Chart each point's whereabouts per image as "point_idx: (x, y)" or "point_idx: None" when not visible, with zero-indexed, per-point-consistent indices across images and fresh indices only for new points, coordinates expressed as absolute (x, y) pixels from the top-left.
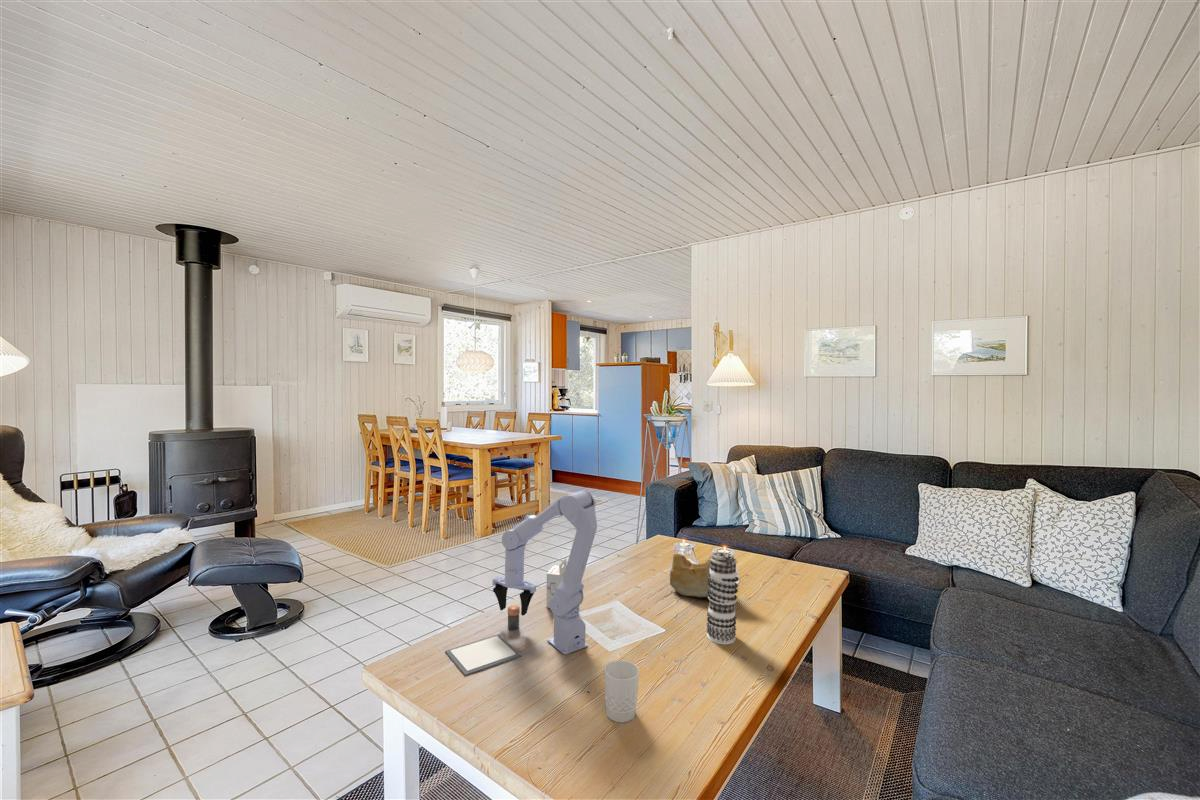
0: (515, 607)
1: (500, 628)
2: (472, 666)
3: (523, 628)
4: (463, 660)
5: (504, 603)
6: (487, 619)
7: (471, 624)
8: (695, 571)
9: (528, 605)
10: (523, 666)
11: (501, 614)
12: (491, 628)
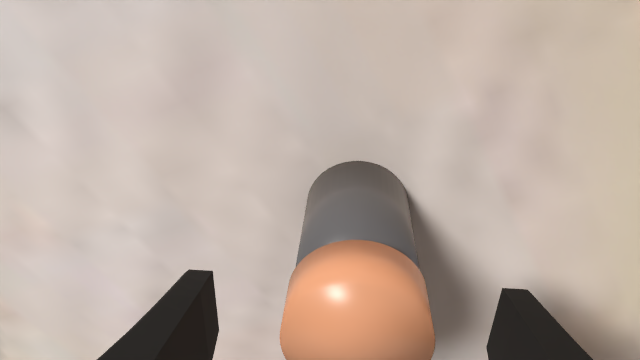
0: (368, 324)
1: (265, 250)
2: None
3: (453, 190)
4: None
5: (193, 337)
6: (56, 162)
7: (24, 269)
8: None
9: (585, 357)
10: None
11: (84, 18)
12: None
